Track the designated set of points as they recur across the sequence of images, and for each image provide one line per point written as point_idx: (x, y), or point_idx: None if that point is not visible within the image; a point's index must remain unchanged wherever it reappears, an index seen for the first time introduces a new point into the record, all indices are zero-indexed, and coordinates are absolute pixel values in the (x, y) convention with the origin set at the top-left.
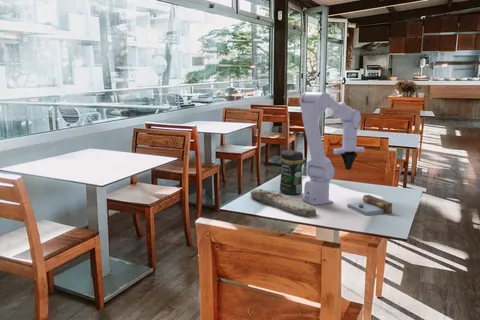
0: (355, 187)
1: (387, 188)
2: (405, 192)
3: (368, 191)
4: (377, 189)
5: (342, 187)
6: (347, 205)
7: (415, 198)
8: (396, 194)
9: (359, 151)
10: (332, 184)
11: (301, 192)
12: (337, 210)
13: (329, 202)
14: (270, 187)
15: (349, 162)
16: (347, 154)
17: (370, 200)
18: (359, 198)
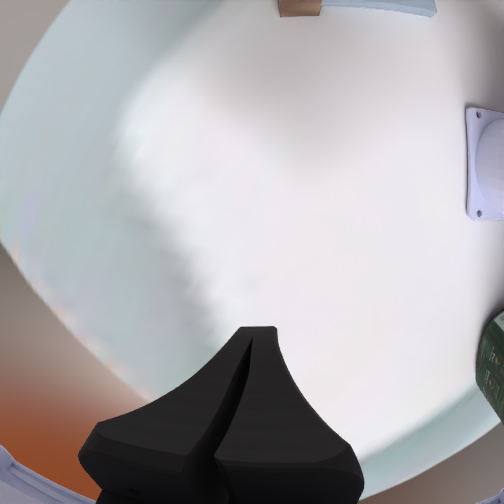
0: (163, 330)
1: (38, 255)
2: (7, 172)
3: (133, 239)
4: (78, 257)
5: None
6: (433, 14)
7: (22, 75)
8: (44, 147)
9: (32, 475)
10: None
11: (498, 314)
12: (487, 12)
13: (486, 110)
14: None
15: (269, 375)
16: (315, 502)
17: None
18: (270, 117)
